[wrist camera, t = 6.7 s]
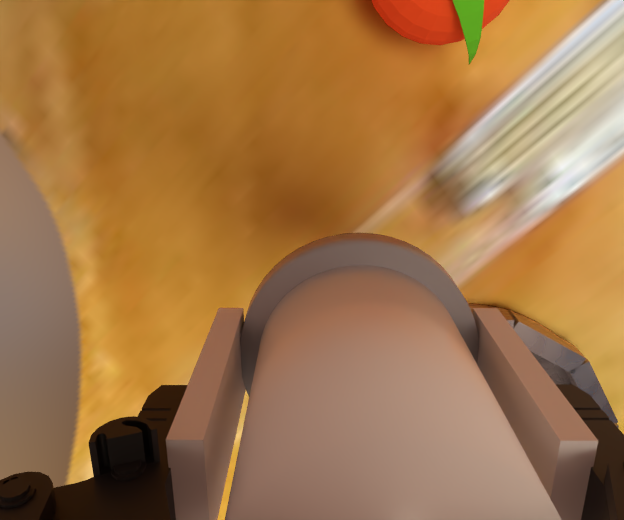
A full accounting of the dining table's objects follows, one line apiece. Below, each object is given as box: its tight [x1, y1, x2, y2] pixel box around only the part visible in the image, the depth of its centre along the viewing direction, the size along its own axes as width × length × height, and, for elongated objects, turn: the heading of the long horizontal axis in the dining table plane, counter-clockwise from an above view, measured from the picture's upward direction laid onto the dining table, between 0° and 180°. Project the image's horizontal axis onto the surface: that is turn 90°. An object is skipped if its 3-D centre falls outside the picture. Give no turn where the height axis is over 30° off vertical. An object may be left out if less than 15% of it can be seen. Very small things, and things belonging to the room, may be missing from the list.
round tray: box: [468, 304, 618, 428], centre depth 36 cm, size 19×19×2 cm
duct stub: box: [225, 233, 561, 520], centre depth 14 cm, size 7×7×9 cm
